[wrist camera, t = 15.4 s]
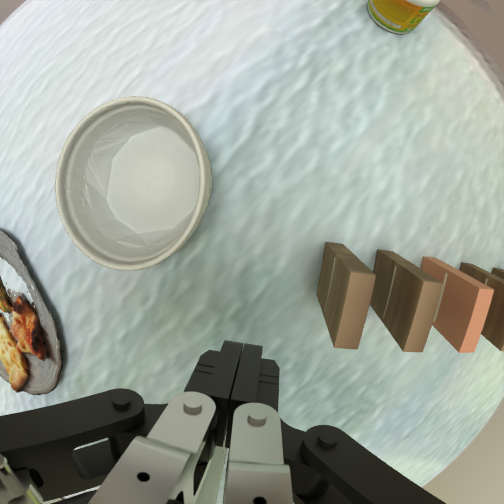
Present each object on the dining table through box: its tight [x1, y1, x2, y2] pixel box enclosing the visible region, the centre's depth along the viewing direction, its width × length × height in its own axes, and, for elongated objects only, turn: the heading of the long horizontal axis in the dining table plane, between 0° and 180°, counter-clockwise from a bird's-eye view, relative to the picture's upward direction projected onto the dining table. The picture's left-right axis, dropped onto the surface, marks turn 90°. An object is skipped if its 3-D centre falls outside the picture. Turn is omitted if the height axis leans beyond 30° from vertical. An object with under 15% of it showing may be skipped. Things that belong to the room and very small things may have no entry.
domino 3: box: [421, 257, 494, 353], centre depth 22 cm, size 2×5×10 cm, turn 174°
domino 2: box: [370, 250, 443, 352], centre depth 23 cm, size 2×5×10 cm, turn 173°
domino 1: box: [317, 242, 376, 349], centre depth 23 cm, size 2×5×10 cm, turn 173°
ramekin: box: [55, 96, 212, 271], centre depth 24 cm, size 13×13×7 cm
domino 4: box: [460, 262, 504, 351], centre depth 22 cm, size 2×5×10 cm, turn 173°
